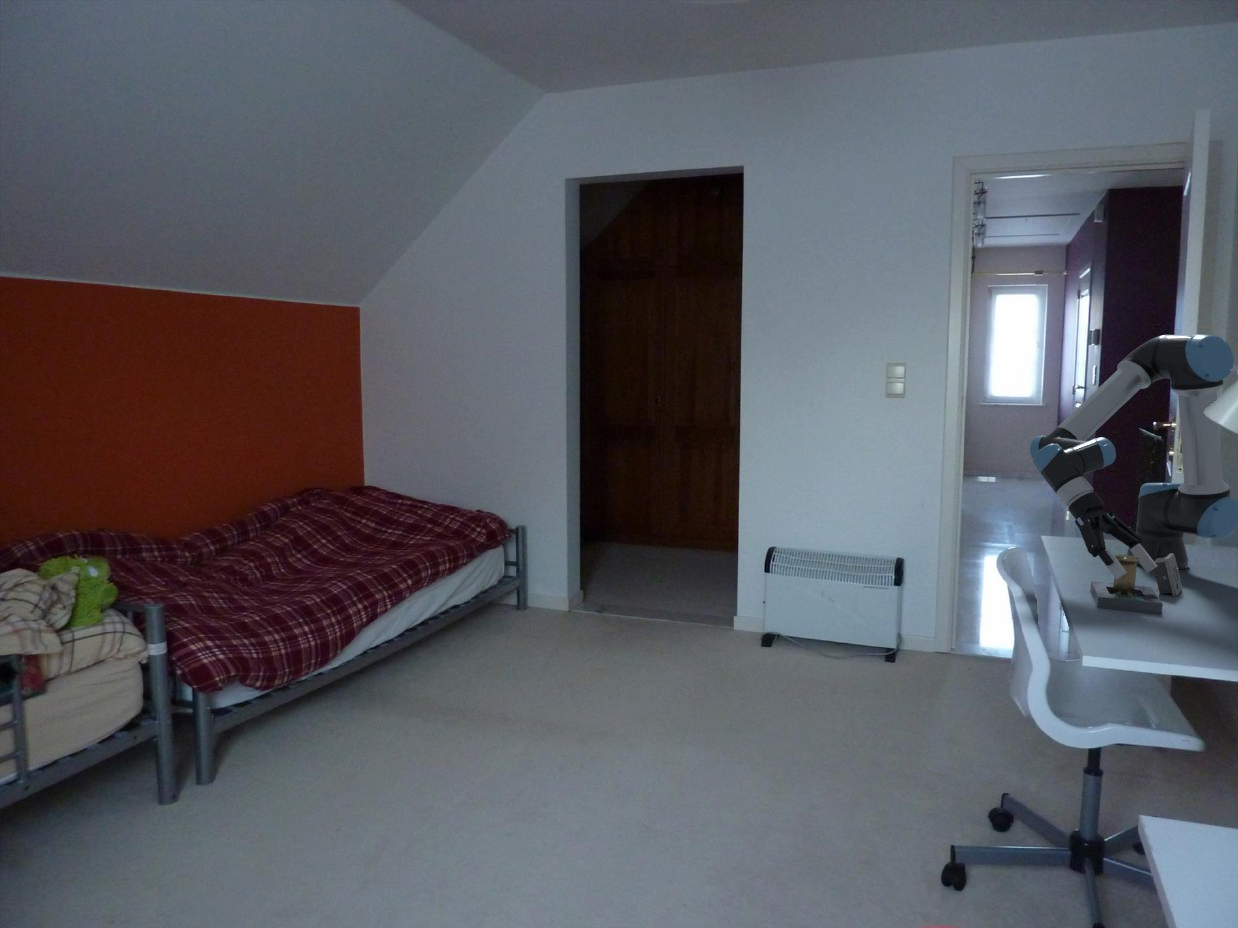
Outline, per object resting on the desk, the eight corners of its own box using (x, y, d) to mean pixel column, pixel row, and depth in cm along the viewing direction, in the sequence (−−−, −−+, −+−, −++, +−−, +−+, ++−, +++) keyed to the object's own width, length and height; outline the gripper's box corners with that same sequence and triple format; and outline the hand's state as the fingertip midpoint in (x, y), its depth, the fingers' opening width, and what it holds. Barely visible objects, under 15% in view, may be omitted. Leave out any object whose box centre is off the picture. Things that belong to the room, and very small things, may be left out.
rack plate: (1090, 590, 227) (1091, 580, 227) (1150, 597, 222) (1151, 586, 222) (1097, 607, 212) (1098, 595, 212) (1161, 614, 208) (1162, 602, 207)
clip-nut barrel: (1120, 598, 220) (1124, 553, 219) (1140, 604, 216) (1144, 558, 214) (1105, 600, 218) (1109, 555, 217) (1124, 606, 214) (1128, 560, 212)
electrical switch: (1176, 597, 223) (1176, 559, 222) (1152, 595, 226) (1151, 558, 226) (1182, 590, 230) (1182, 553, 230) (1158, 588, 234) (1158, 552, 233)
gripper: (1097, 504, 234) (1152, 574, 224) (1040, 512, 221) (1095, 587, 210) (1120, 487, 229) (1177, 558, 219) (1063, 494, 216) (1121, 570, 205)
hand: (1137, 572), depth 214 cm, fingers open, 13 cm apart
